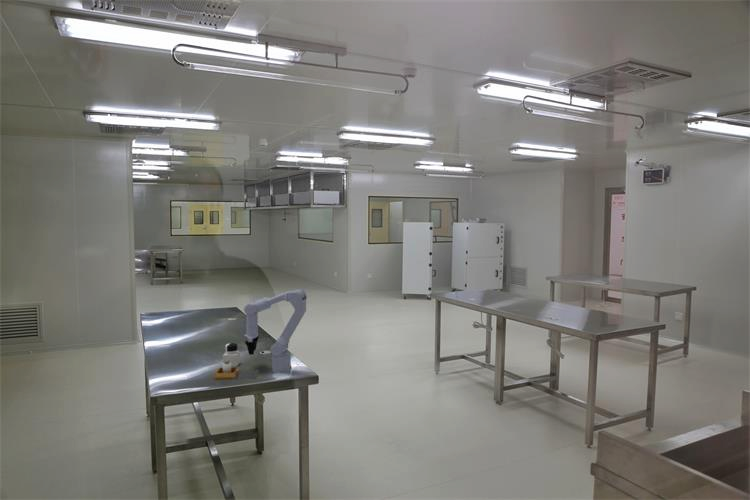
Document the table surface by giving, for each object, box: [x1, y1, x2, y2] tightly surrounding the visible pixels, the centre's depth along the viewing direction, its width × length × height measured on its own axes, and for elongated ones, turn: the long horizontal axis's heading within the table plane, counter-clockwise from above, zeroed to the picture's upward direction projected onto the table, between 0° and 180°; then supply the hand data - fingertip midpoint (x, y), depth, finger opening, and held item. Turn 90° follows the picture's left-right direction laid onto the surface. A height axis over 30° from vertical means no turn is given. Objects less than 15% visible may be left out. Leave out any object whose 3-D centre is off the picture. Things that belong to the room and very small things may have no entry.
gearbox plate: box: [213, 366, 261, 381], centre depth 238 cm, size 20×13×4 cm, turn 96°
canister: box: [222, 361, 232, 373], centre depth 238 cm, size 4×4×7 cm
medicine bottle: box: [222, 342, 241, 367], centre depth 255 cm, size 7×7×12 cm
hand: (252, 352), depth 248 cm, fingers open, 7 cm apart
